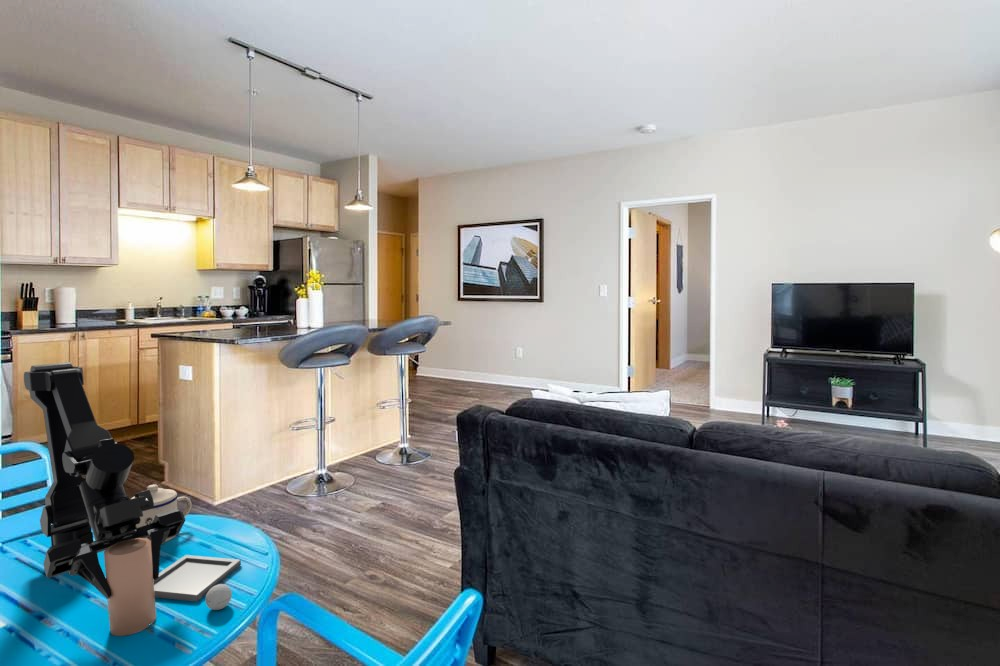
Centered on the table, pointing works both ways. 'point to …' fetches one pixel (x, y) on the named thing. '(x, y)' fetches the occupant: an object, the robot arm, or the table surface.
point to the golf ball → (218, 597)
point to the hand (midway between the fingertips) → (133, 588)
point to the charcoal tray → (193, 577)
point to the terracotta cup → (130, 586)
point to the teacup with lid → (162, 504)
